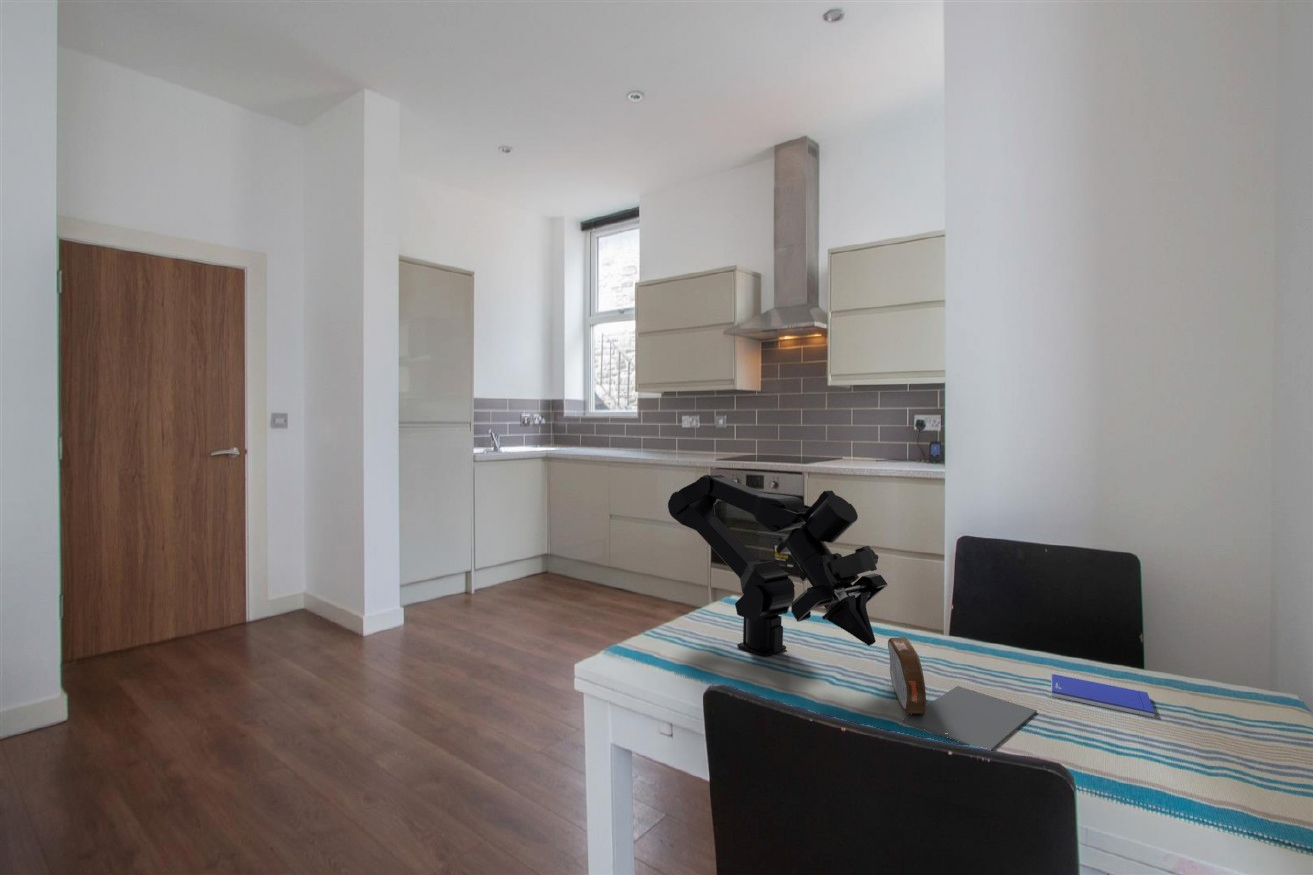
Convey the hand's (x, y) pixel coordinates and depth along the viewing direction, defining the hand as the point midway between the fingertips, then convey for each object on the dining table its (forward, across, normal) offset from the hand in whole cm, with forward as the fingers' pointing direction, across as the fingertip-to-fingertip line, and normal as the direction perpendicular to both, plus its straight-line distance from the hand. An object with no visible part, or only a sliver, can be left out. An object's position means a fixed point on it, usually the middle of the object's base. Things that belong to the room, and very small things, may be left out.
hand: (872, 643), depth 96 cm
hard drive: (+21, +27, -10) cm, 36 cm away
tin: (+9, 0, +1) cm, 9 cm away
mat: (+15, +4, -4) cm, 16 cm away
